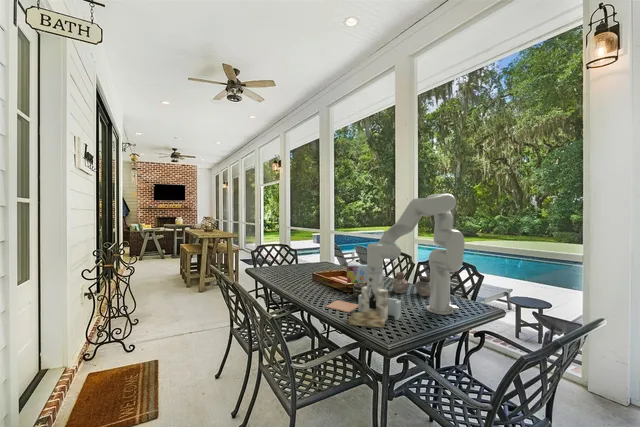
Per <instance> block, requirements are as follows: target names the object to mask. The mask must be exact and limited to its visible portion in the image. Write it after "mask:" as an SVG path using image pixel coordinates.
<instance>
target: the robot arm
mask: <svg viewBox="0 0 640 427" xmlns="http://www.w3.org/2000/svg"><path fill="white" fill-rule="evenodd" d="M456 205H457V200H456V198H455V196H454V195H453V194H452V193H451V194H450V193H434V194H430V195H427V196H426V197H424V198H423V197H420V198H413V199H411V201H410V202H409V203H408V205H406V208H405V209H404V211H403V212H402V214H401V216H400V217H399V219H398V220H397V221H396V222H395V223H394V224H393V225H392V226H390V227H389V228H388V229H387V230H385V232H384V233H383V234H382V236H381V238H380V239H379V240H378V242H376V243H375V242H374V243H368V244H367V249H366V250H367V251H366V253H367V254H366V260H367V262H366V265H367V273H368V277H367V293H368V297H369V308H371V309H376V301H375V297H376V295H378V294H379V290H381V289H384V286H385V285H384V274H383V273H384V259H385V260H396V259H398V258H399V257H400V256H401V254H402V250H401V248H400V246H399V245H397V243H395V242H397V240H398V239H399V238H401V237H403V236H406V235H408V234H410V233H412V232H413V231H414V230H415V228H416V226H417V225H418V224H419V222H420V220H421V219H422V216H423V217H431V216H432V217H434V227H433V228H434V229H433V242H434V244H435V245H436V246H438V247H441V249H440V248H436V249H433V250H432V251H430V253H429V255H428V264H429V269H430V274H429V275H430V276H429V277H430V295H429V304H428V305H427V306H426V310H427V311H428V312H430V313H431V314H435V315H443V316H446V315H452V314H453V313H454V311H455V312H460V306H459V307H458V306H457V305H453V304H452V302H451V273H455V272H458V271H459V270H461V268H462V267H463V263H464V252H465V237H464V235H463V233H462V232H461V231H459V230H457V229H453V227H454V226H453V224H454V223H453V222H454V220H453V215H452V212H451V211H452V210H454V209H455V207H456ZM442 248H445V249H442ZM450 272H451V273H450ZM372 293H373V294H372ZM372 295H374V297H373V296H372Z"/></svg>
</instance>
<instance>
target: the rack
mask: <svg viewBox="0 0 640 427" xmlns="http://www.w3.org/2000/svg"><path fill="white" fill-rule="evenodd" d="M357 301H358V308H357V309H358V310H357V312H358V313H359V312H361V295H359V296H358V300H357ZM388 316H391V317H392V316H393V317H394V320H395V321H399V320H400V318H401V317H402V300H401V299H397V298H391V297H388Z"/></svg>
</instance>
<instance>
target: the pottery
mask: <svg viewBox="0 0 640 427" xmlns="http://www.w3.org/2000/svg"><path fill="white" fill-rule="evenodd" d="M395 274H396V275H395V276H396V277H395V278H394V279H392V281H391V284H392V287H393V289H394V290H395V291H394V292H395V293H397V294H404V293H406V291H405V290H406V289H407V288H408V286H409V281H407V279H405V278H404V275H405V273H404V272H399V271H396V272H395ZM418 279H419V280H418V281H416V282H414V287H415V290H416V291H417V292H418V293H419V294H418V295H419V296H421V297H430V276H427V275H425V276H424V275H420V276H419V278H418Z"/></svg>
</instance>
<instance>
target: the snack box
mask: <svg viewBox="0 0 640 427" xmlns="http://www.w3.org/2000/svg"><path fill="white" fill-rule="evenodd" d="M367 277H368V273H367V264H349V263H348V264H346V284H347V283H363V282H367Z"/></svg>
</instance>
